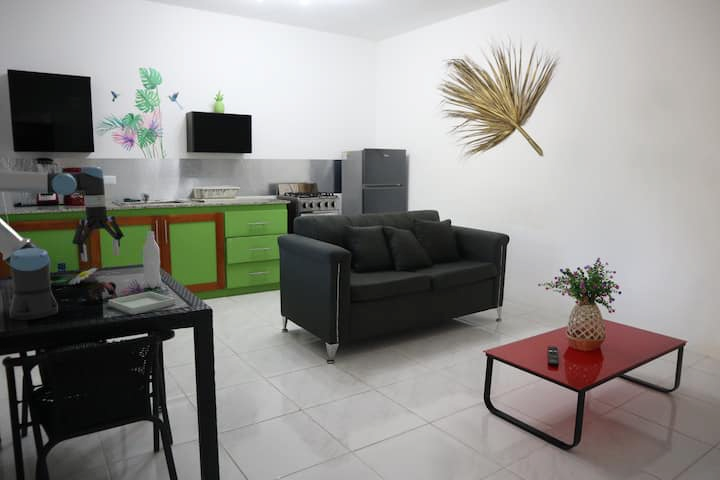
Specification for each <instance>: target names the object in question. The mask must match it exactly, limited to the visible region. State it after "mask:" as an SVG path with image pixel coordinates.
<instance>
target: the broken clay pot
mask: <svg viewBox="0 0 720 480" xmlns="http://www.w3.org/2000/svg"><path fill="white" fill-rule="evenodd" d="M116 288H117V285H116V284H115V282H114V281H110V282H108V283H107V282H106V281H101V282H99V283H98V284H96V285H95V286H93V287H92V289H89V291H88V293H89V298H92V299H93V300H95V298H96V297H98V294H99V293H106V291H107V294H108V295H109V296H110V297H111V298H110V299H116V298H118V295H117V293H116Z"/></svg>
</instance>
